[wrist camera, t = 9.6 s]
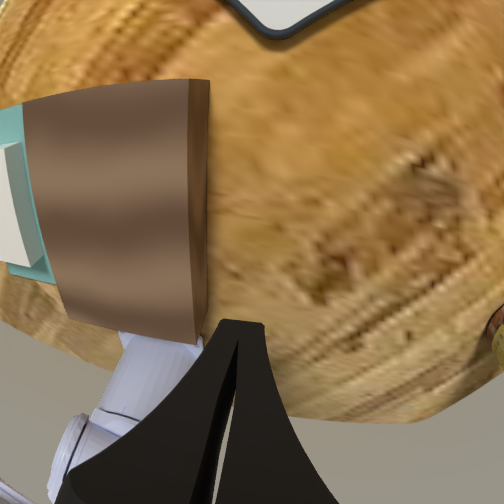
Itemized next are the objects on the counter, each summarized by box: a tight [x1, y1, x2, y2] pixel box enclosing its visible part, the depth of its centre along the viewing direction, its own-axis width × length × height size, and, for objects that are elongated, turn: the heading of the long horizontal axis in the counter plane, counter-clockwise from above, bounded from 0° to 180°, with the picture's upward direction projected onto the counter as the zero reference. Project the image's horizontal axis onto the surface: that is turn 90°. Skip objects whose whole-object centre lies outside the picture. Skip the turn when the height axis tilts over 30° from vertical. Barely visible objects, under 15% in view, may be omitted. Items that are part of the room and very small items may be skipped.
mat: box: [0, 104, 56, 284], centre depth 20 cm, size 16×10×1 cm, turn 176°
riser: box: [22, 79, 209, 345], centre depth 18 cm, size 16×10×4 cm, turn 176°
